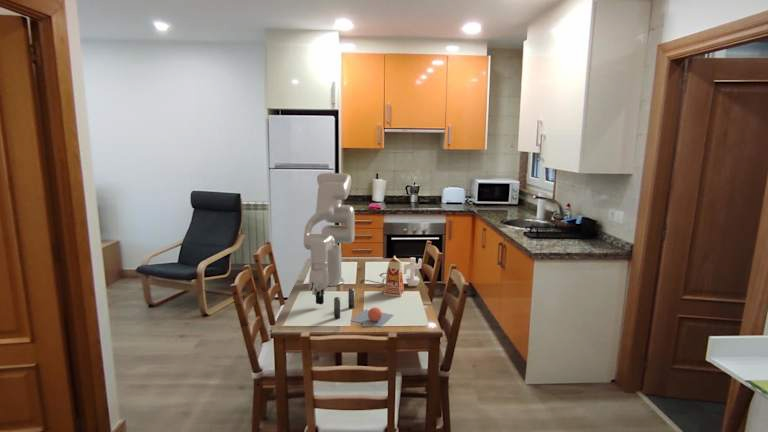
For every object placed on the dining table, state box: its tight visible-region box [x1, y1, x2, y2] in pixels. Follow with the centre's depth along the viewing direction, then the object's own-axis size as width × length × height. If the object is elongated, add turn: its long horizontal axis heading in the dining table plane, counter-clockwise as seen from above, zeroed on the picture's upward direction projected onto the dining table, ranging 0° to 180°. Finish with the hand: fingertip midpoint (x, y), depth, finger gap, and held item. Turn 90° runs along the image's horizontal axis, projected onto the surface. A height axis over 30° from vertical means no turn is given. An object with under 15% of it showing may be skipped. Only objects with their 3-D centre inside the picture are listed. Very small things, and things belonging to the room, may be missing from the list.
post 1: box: [333, 297, 341, 320], centre depth 193 cm, size 3×3×9 cm
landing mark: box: [350, 309, 394, 328], centre depth 195 cm, size 14×14×1 cm
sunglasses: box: [360, 272, 387, 287], centre depth 245 cm, size 17×15×5 cm
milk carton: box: [383, 255, 405, 297], centre depth 225 cm, size 9×9×20 cm
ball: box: [368, 306, 383, 322], centre depth 191 cm, size 6×6×6 cm
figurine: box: [403, 257, 423, 287], centre depth 238 cm, size 7×9×15 cm
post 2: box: [347, 287, 355, 310], centre depth 205 cm, size 3×3×9 cm
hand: (319, 303), depth 205 cm, fingers closed
